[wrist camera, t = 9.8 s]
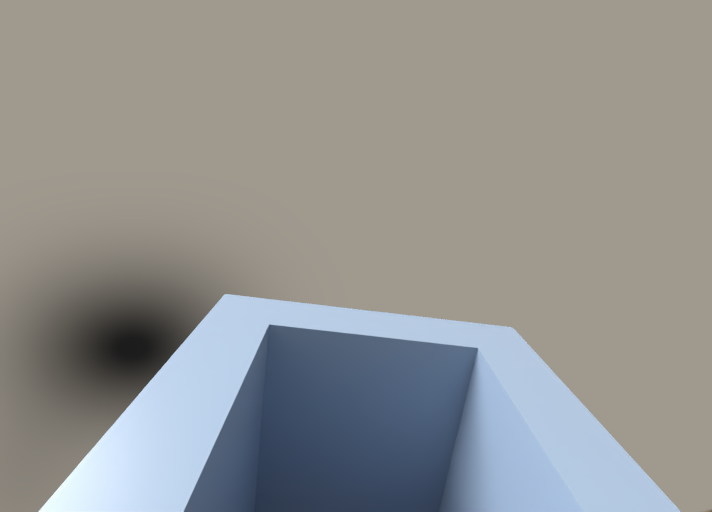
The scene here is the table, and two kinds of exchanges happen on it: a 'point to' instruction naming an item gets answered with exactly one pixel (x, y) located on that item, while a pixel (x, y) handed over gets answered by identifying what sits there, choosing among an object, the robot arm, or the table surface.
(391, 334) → the sleeve
